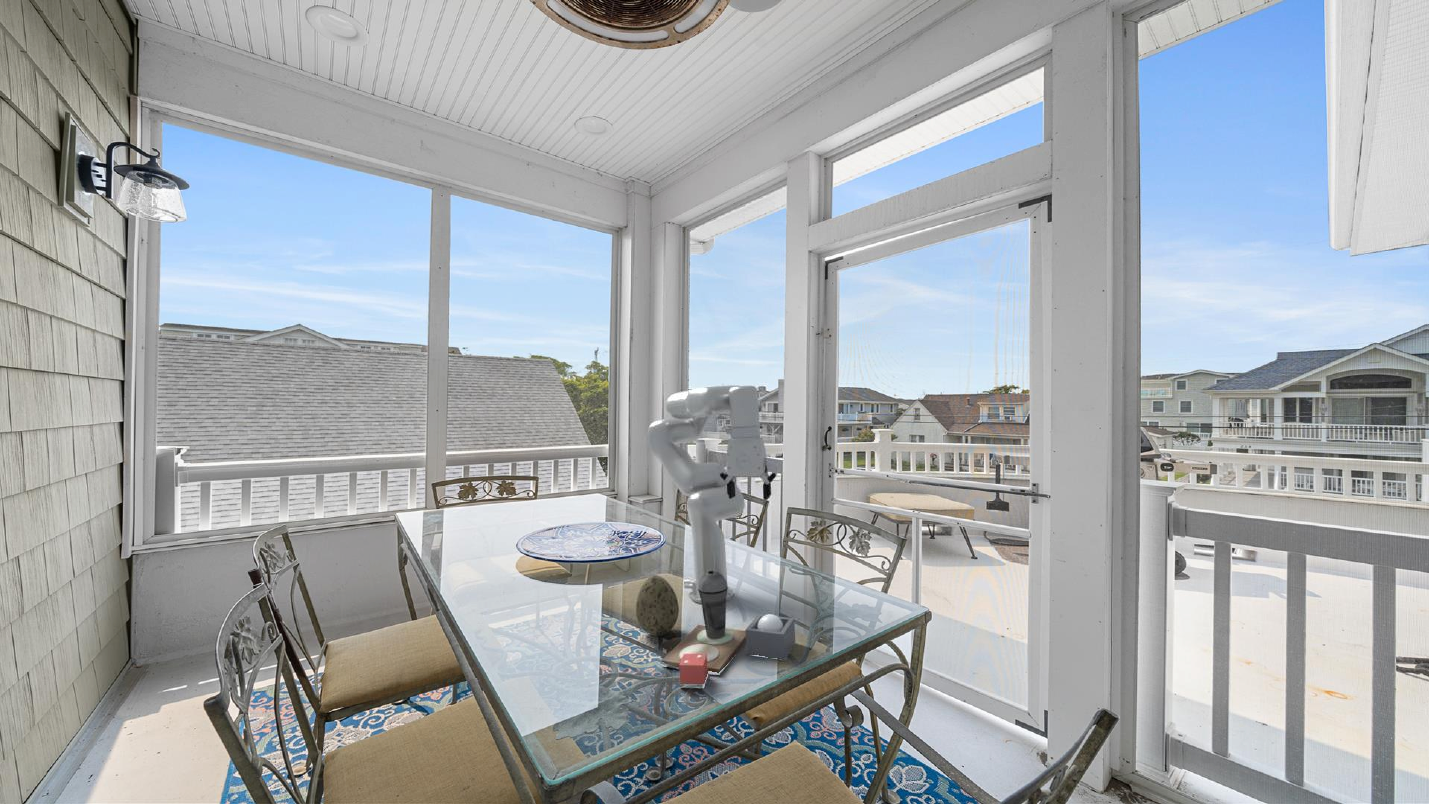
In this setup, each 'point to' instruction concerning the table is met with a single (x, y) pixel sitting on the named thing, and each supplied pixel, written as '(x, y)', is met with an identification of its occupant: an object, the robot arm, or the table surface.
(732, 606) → the table surface
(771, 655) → the housing
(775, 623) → the white ball
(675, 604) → the decorative egg
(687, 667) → the die
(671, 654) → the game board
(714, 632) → the beverage cup
